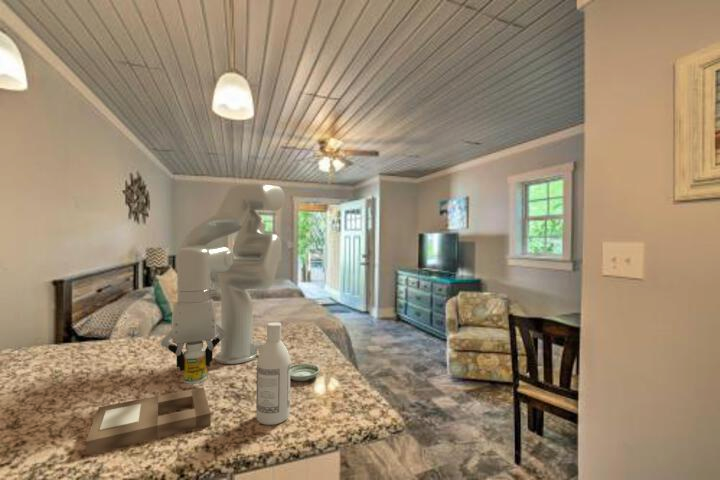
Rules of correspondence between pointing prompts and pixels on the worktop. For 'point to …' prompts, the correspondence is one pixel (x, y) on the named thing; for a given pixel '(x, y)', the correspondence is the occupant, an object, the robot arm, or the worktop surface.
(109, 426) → the rack board
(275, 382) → the bath foam
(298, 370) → the saucer
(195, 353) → the supplement bottle
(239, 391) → the worktop surface
